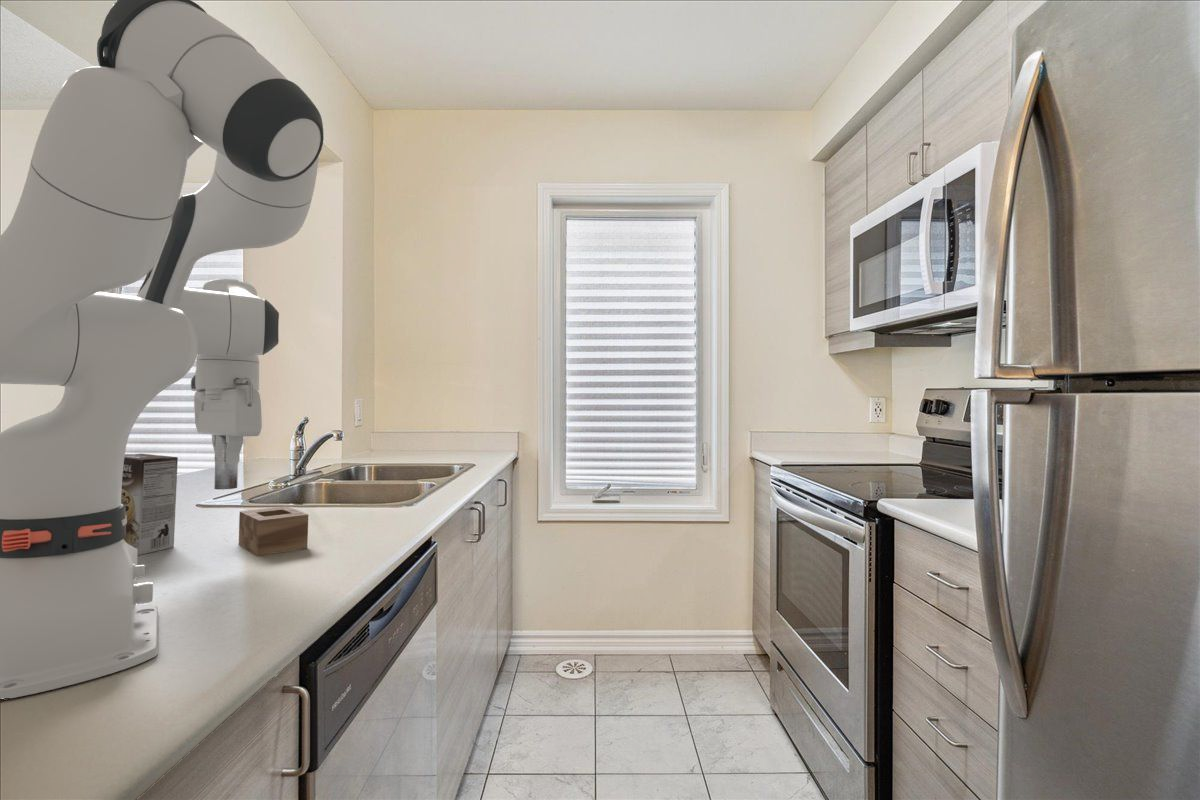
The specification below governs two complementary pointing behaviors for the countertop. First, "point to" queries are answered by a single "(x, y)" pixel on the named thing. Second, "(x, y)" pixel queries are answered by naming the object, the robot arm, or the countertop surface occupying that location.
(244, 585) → the countertop surface
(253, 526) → the walnut block
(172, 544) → the coffee box
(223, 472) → the steel pin
